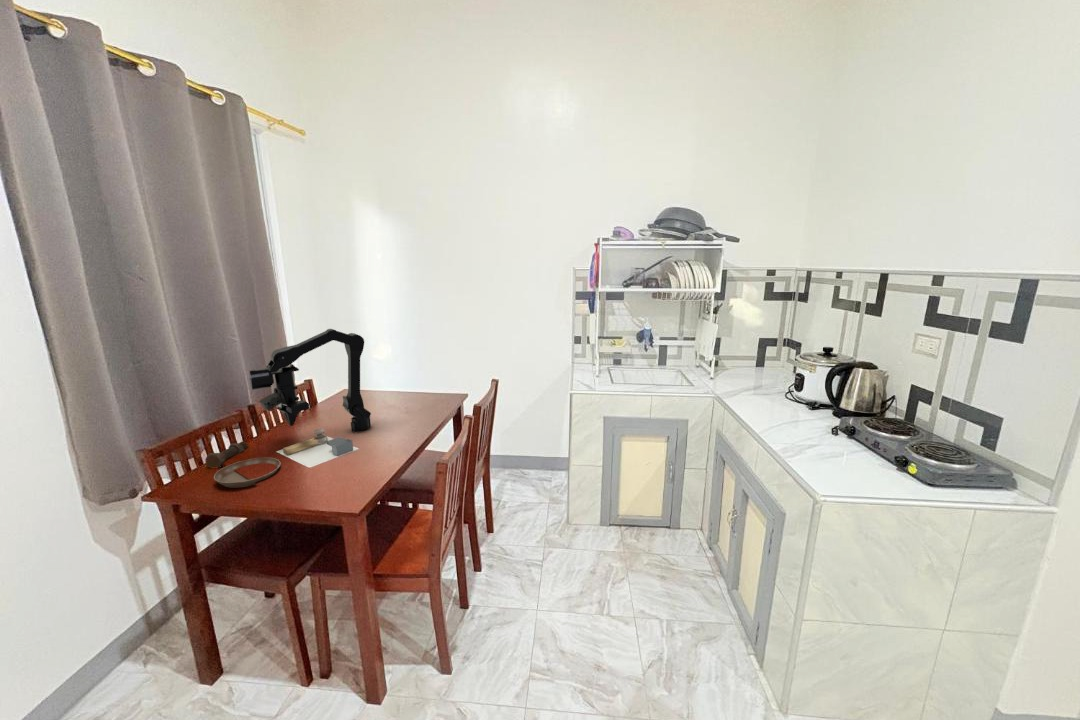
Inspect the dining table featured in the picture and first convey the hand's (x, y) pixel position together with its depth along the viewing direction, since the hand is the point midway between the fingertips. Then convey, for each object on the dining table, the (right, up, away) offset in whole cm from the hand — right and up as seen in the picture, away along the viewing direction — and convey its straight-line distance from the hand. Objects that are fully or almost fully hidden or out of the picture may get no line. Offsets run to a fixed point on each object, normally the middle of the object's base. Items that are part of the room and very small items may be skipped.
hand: (291, 425), depth 159 cm
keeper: (+20, -8, -4) cm, 22 cm away
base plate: (+11, -9, -3) cm, 15 cm away
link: (+6, -8, -1) cm, 10 cm away
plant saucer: (-2, -14, -20) cm, 24 cm away
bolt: (-17, -11, -7) cm, 22 cm away
